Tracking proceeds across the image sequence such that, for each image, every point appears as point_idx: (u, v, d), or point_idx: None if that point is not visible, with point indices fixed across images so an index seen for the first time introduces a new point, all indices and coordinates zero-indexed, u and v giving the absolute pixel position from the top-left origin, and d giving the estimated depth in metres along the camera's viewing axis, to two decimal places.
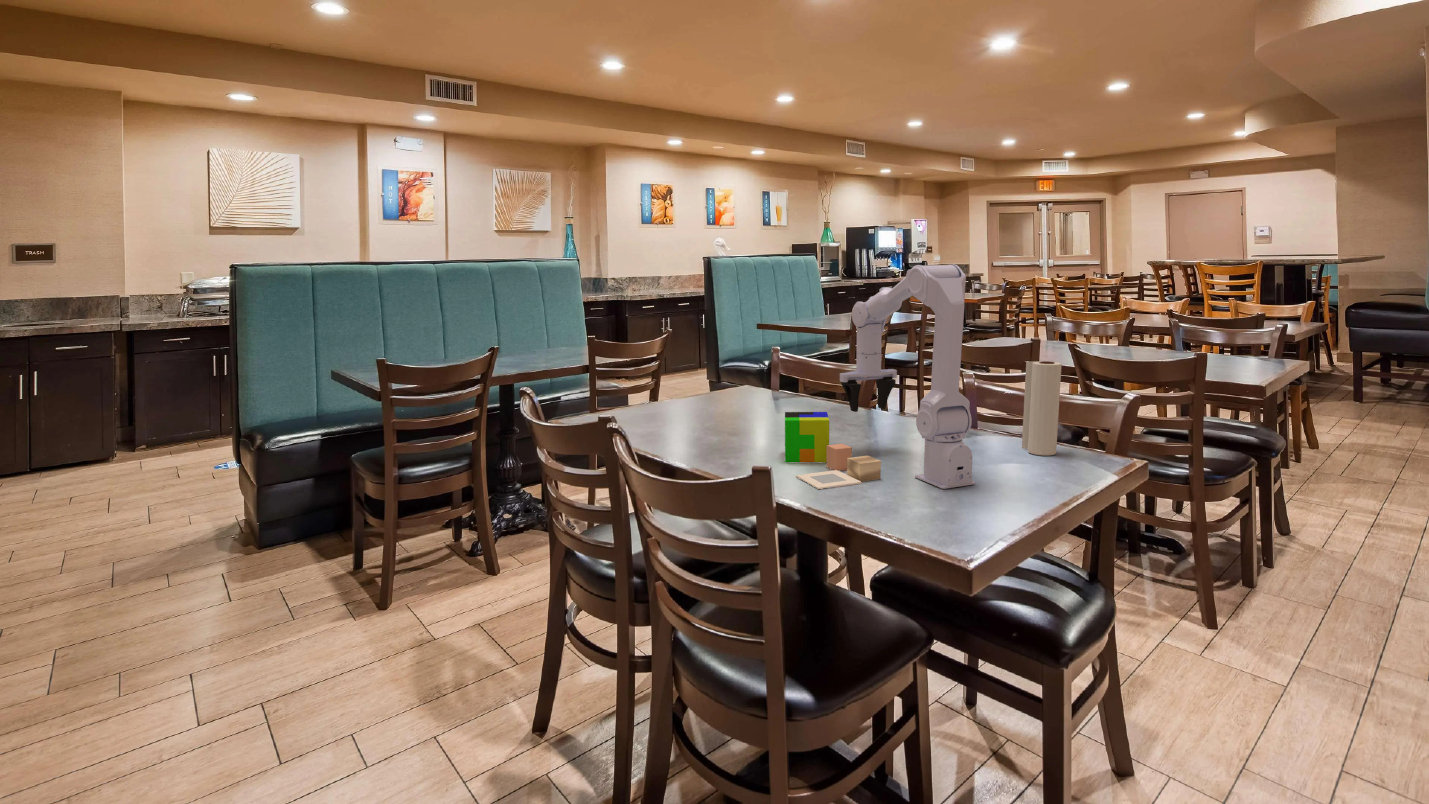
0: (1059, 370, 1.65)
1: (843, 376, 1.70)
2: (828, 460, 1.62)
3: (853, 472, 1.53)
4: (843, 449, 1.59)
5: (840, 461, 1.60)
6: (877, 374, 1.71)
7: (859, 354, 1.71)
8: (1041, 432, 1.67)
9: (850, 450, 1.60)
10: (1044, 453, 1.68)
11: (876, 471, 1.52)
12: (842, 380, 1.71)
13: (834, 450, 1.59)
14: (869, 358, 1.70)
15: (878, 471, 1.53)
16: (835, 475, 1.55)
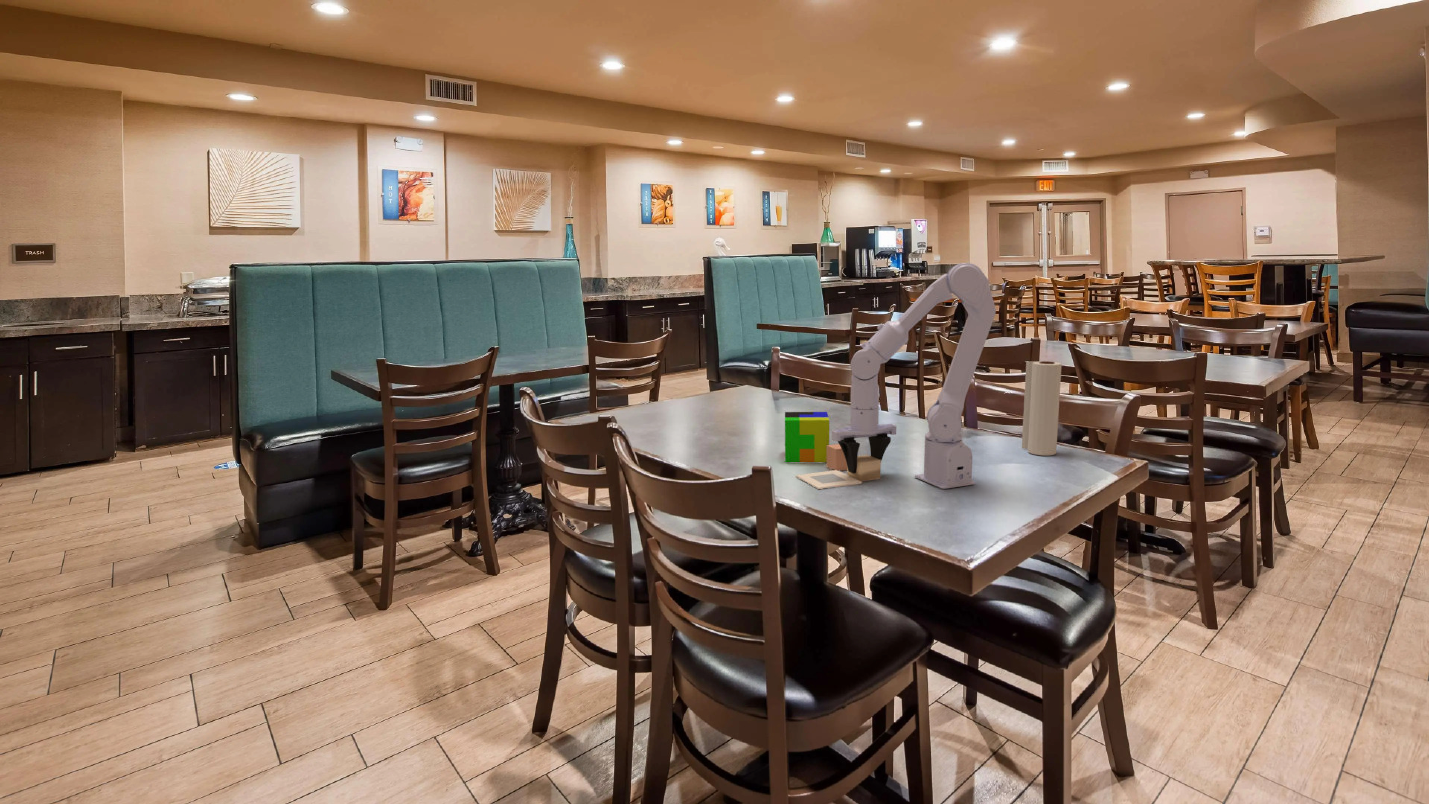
0: (1059, 370, 1.65)
1: (835, 434, 1.50)
2: (828, 460, 1.62)
3: None
4: None
5: (840, 461, 1.60)
6: (874, 432, 1.50)
7: (853, 409, 1.51)
8: (1041, 432, 1.67)
9: None
10: (1044, 453, 1.68)
11: (876, 470, 1.52)
12: (834, 439, 1.50)
13: (834, 450, 1.59)
14: (865, 414, 1.49)
15: (878, 470, 1.53)
16: (835, 475, 1.55)
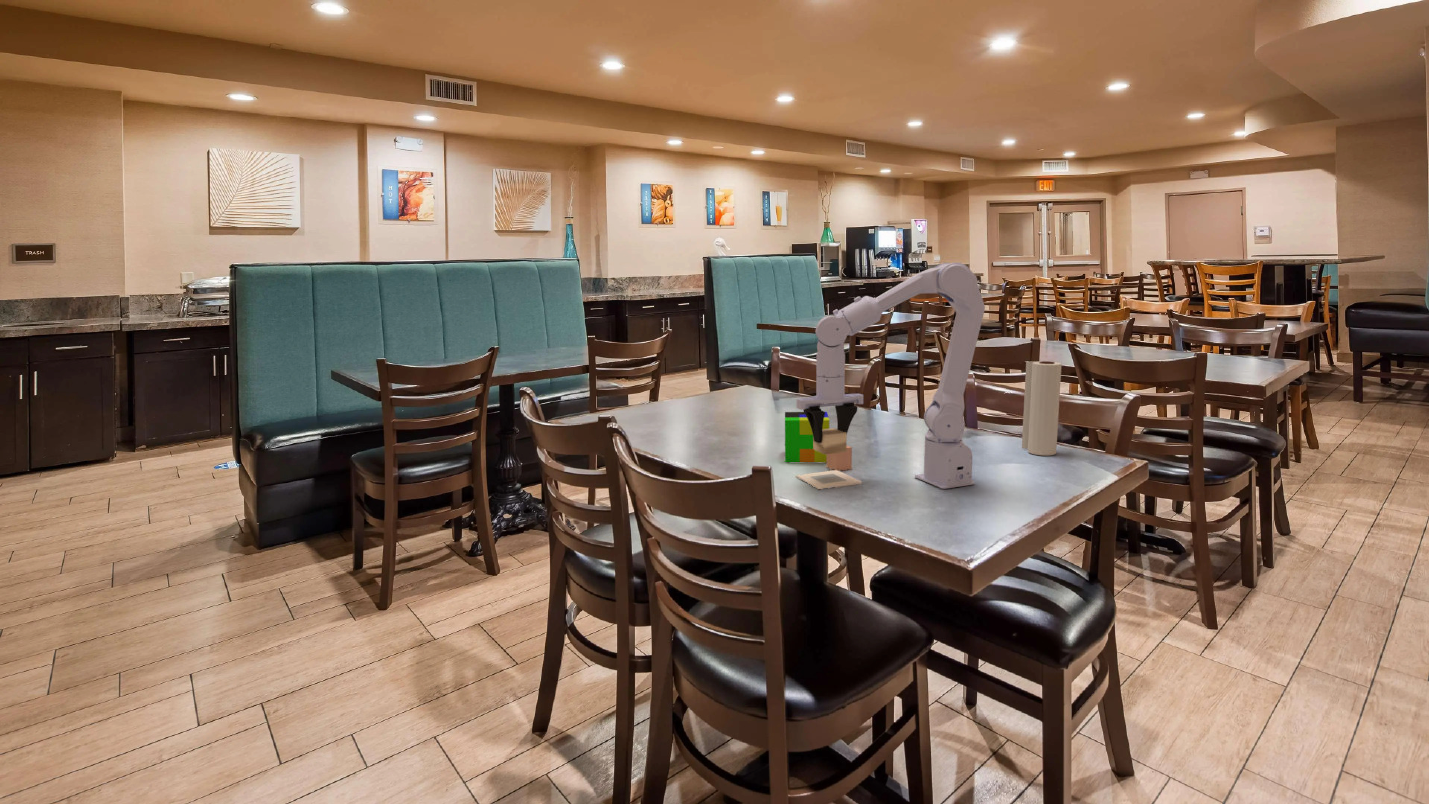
0: (1059, 370, 1.65)
1: (800, 402, 1.47)
2: (828, 460, 1.62)
3: (818, 445, 1.51)
4: None
5: (840, 461, 1.60)
6: (840, 400, 1.47)
7: (819, 377, 1.48)
8: (1041, 432, 1.67)
9: (850, 450, 1.60)
10: (1044, 453, 1.68)
11: (842, 443, 1.50)
12: (799, 407, 1.47)
13: None
14: (830, 382, 1.46)
15: (844, 443, 1.50)
16: (835, 475, 1.55)
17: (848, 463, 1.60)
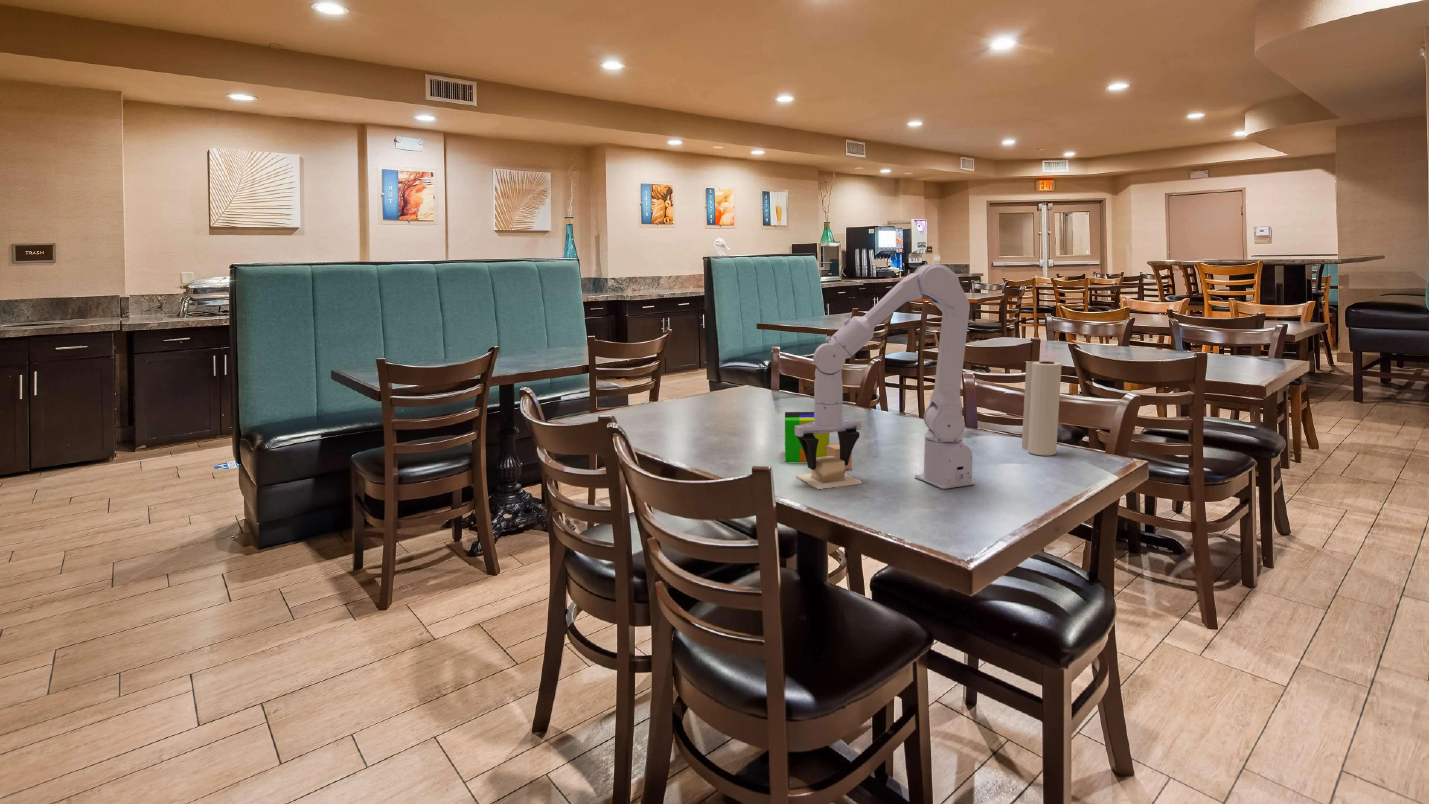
0: (1059, 370, 1.65)
1: (798, 429, 1.47)
2: None
3: (817, 473, 1.52)
4: None
5: None
6: (837, 427, 1.48)
7: (817, 404, 1.48)
8: (1041, 432, 1.67)
9: None
10: (1044, 453, 1.68)
11: (840, 471, 1.51)
12: (797, 434, 1.48)
13: (834, 450, 1.59)
14: (828, 409, 1.47)
15: (842, 471, 1.51)
16: None
17: (848, 463, 1.60)
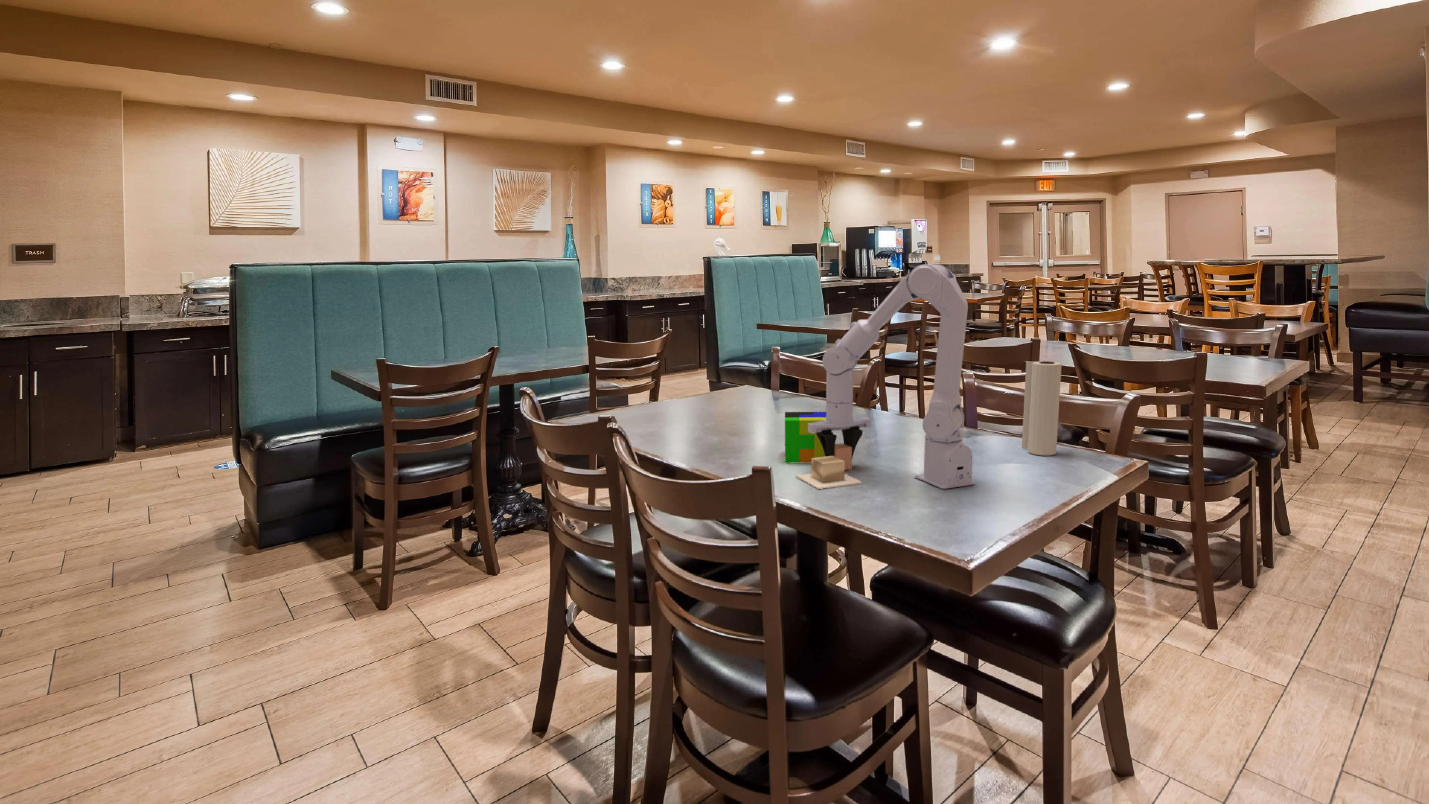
0: (1059, 370, 1.65)
1: (811, 426, 1.57)
2: None
3: (817, 473, 1.52)
4: (843, 449, 1.59)
5: None
6: (848, 424, 1.58)
7: (829, 403, 1.58)
8: (1041, 432, 1.67)
9: (850, 450, 1.60)
10: (1044, 453, 1.68)
11: (840, 471, 1.51)
12: (810, 431, 1.58)
13: (834, 450, 1.59)
14: (839, 407, 1.57)
15: (842, 471, 1.51)
16: None
17: (848, 463, 1.60)
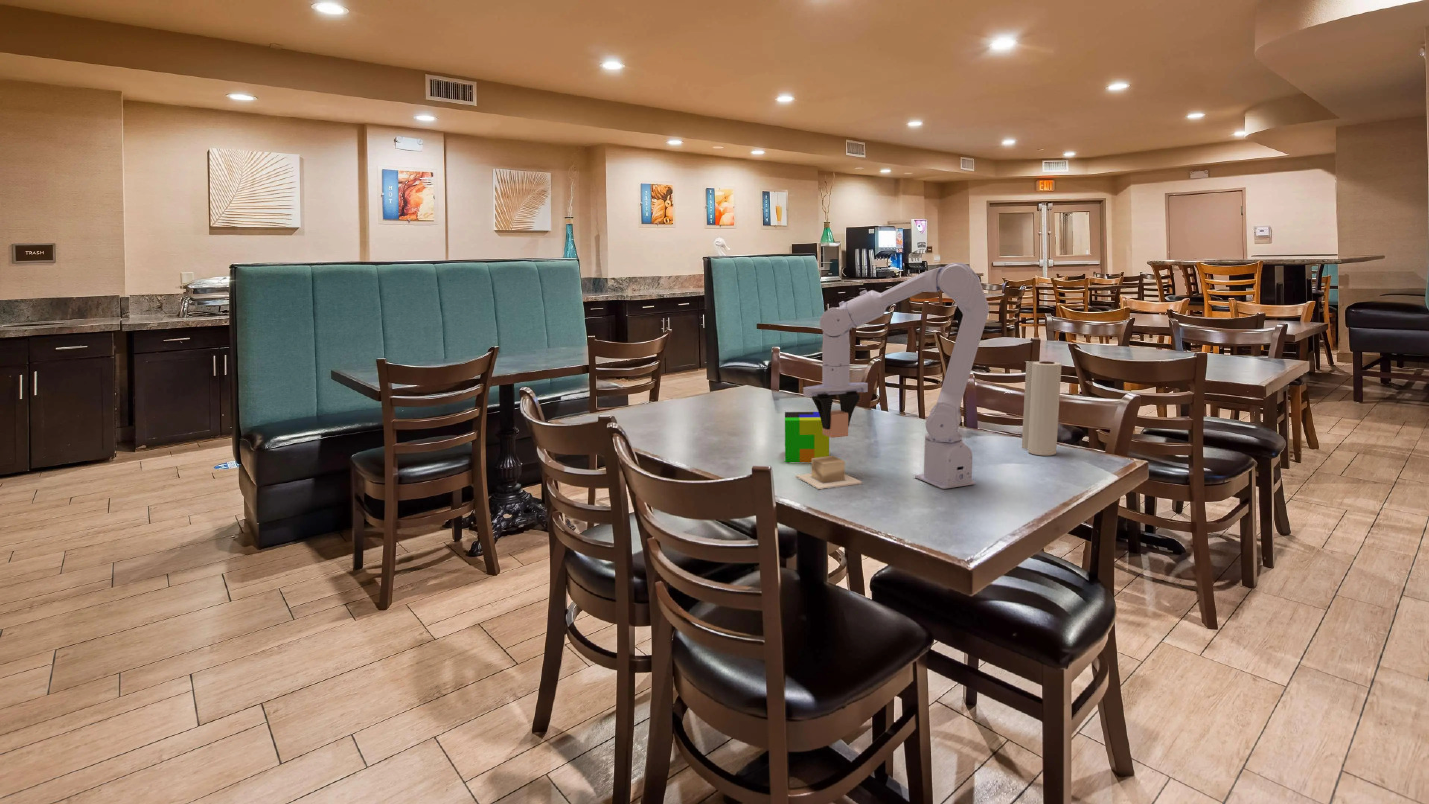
0: (1059, 370, 1.65)
1: (806, 390, 1.52)
2: None
3: (817, 473, 1.52)
4: (839, 415, 1.55)
5: (836, 427, 1.55)
6: (845, 388, 1.53)
7: (825, 366, 1.53)
8: (1041, 432, 1.67)
9: (846, 416, 1.55)
10: (1044, 453, 1.68)
11: (840, 471, 1.51)
12: (806, 395, 1.53)
13: (830, 416, 1.55)
14: (836, 370, 1.52)
15: (842, 471, 1.51)
16: None
17: (844, 429, 1.56)
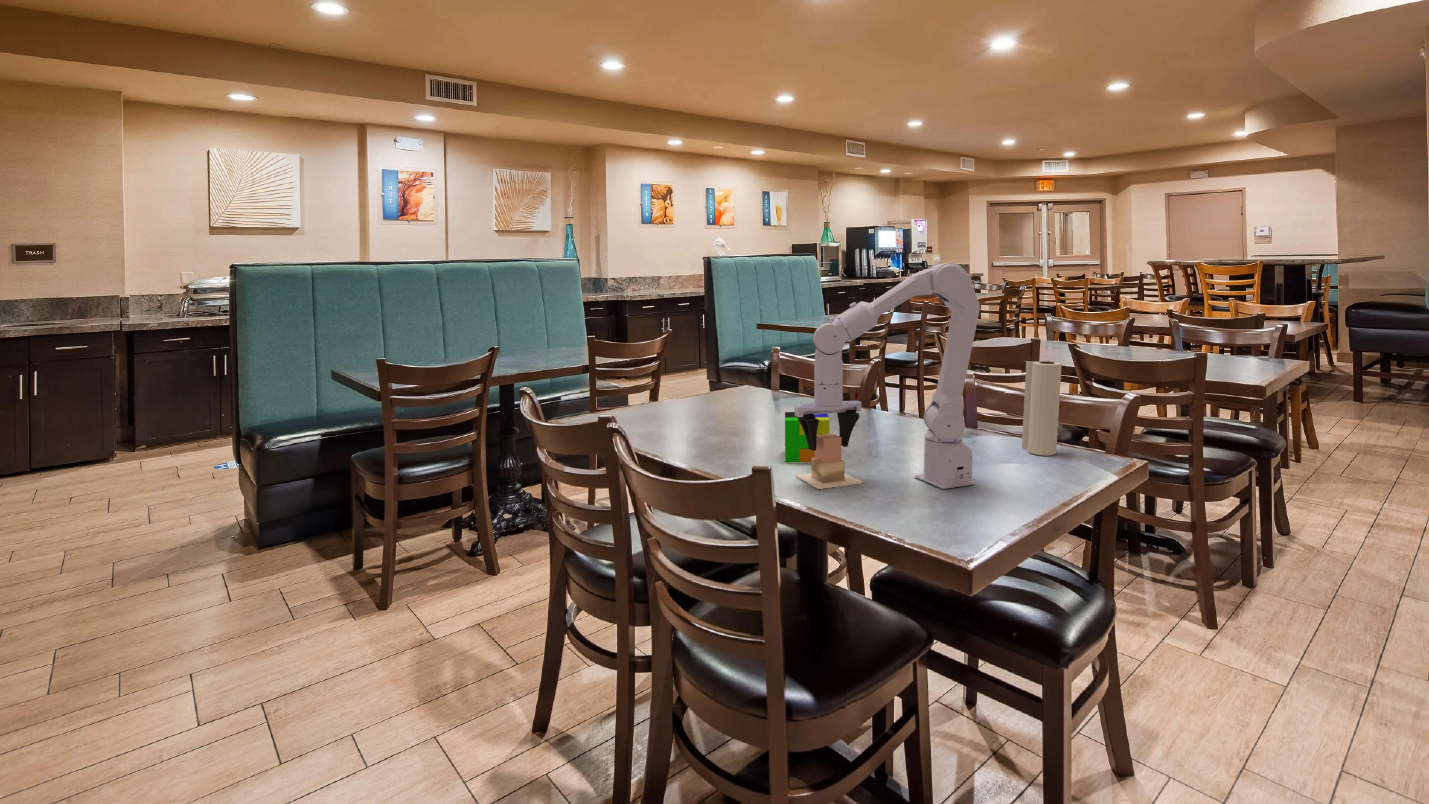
0: (1059, 370, 1.65)
1: (798, 409, 1.47)
2: (816, 451, 1.52)
3: (817, 473, 1.52)
4: (832, 439, 1.49)
5: (829, 452, 1.50)
6: (838, 407, 1.47)
7: (817, 384, 1.48)
8: (1041, 432, 1.67)
9: (840, 440, 1.50)
10: (1044, 453, 1.68)
11: (840, 471, 1.51)
12: (797, 414, 1.47)
13: (822, 440, 1.49)
14: (828, 389, 1.46)
15: (842, 471, 1.51)
16: None
17: (837, 454, 1.50)
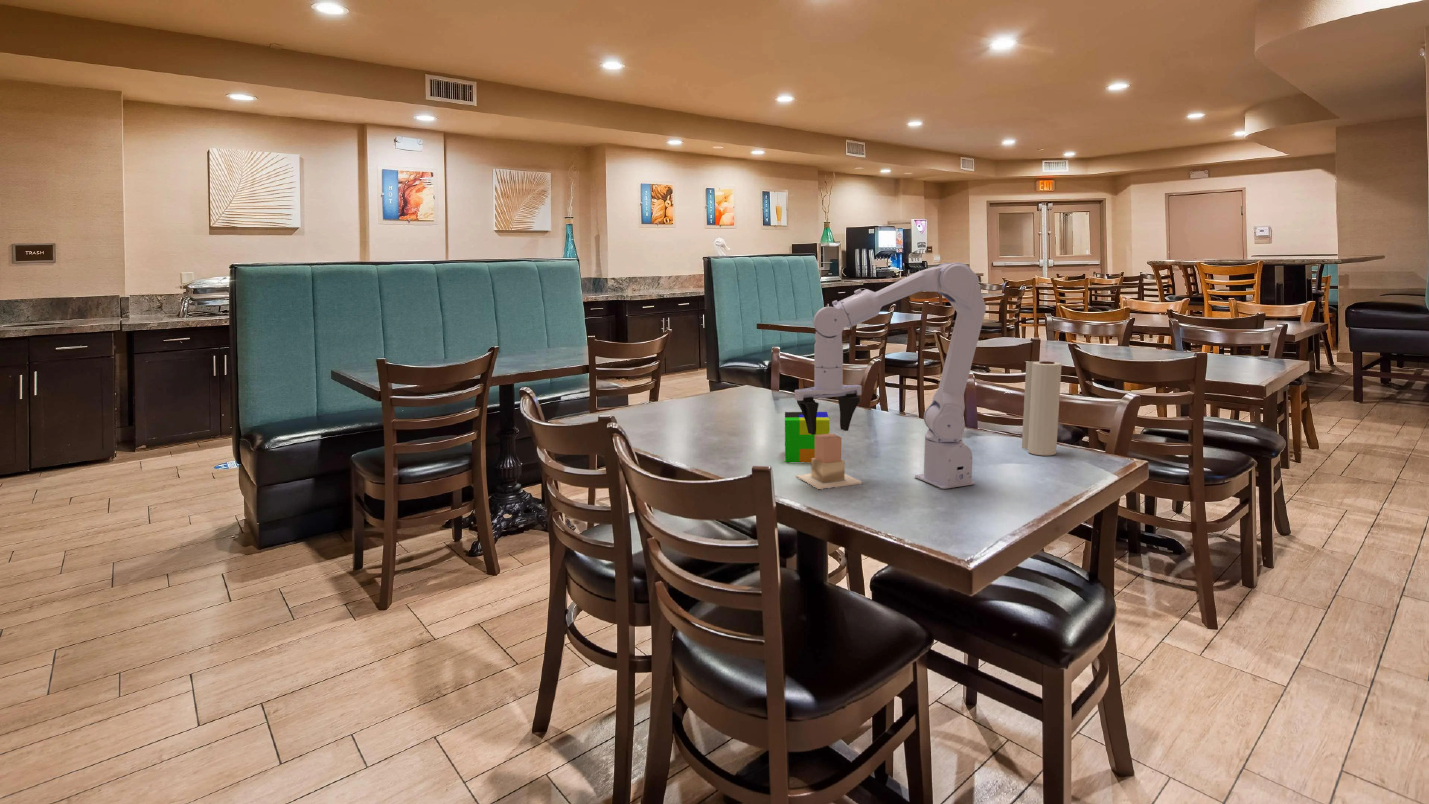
0: (1059, 370, 1.65)
1: (798, 393, 1.46)
2: (816, 451, 1.52)
3: (817, 473, 1.52)
4: (832, 439, 1.49)
5: (829, 452, 1.50)
6: (838, 391, 1.47)
7: (817, 368, 1.47)
8: (1041, 432, 1.67)
9: (840, 440, 1.50)
10: (1044, 453, 1.68)
11: (840, 471, 1.51)
12: (797, 398, 1.47)
13: (822, 440, 1.49)
14: (828, 372, 1.46)
15: (842, 471, 1.51)
16: None
17: (837, 454, 1.50)
